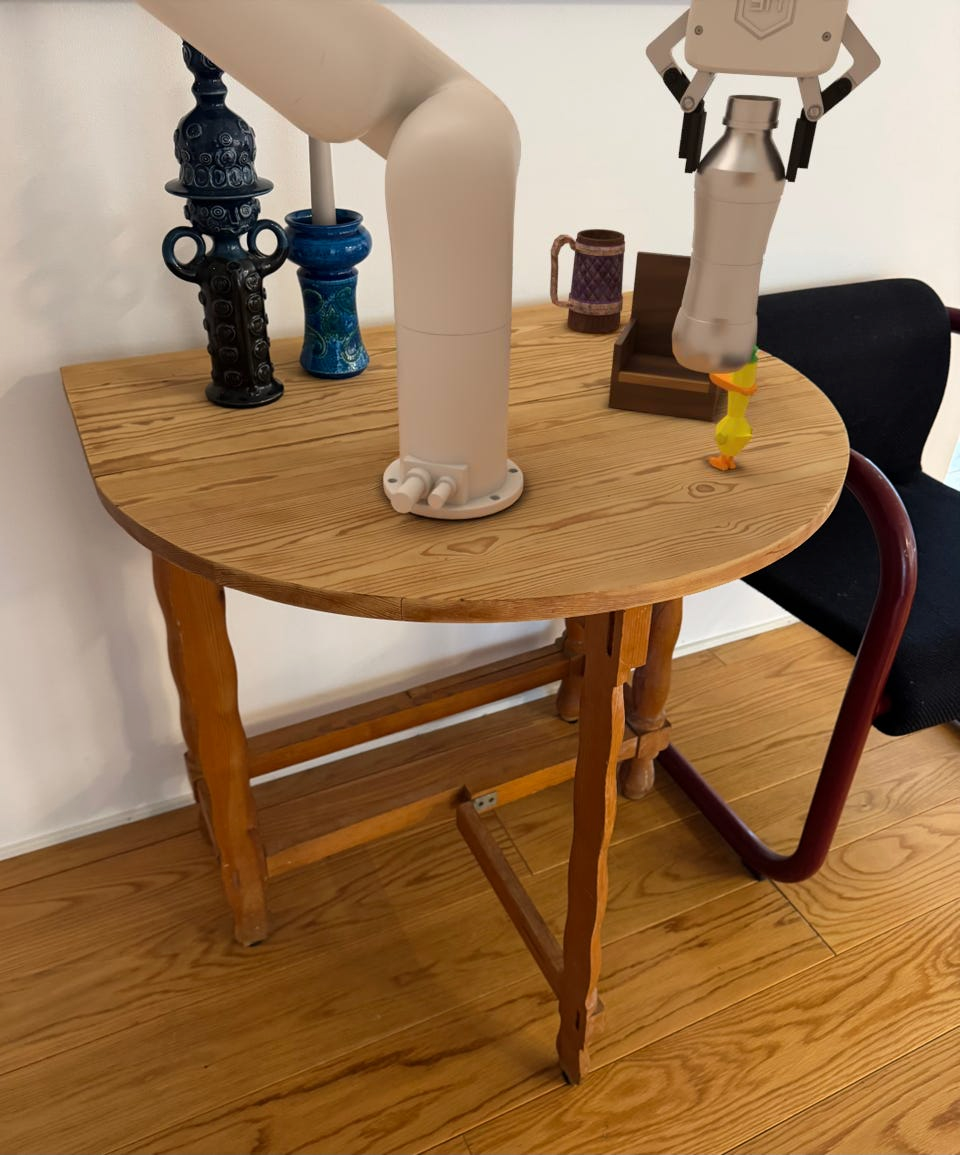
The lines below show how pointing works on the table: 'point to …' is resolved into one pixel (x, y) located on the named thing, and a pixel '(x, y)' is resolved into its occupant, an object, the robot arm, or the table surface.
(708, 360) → the silver water bottle
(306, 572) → the table surface
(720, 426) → the toy figure
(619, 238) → the mug
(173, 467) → the table surface
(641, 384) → the wooden chair
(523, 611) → the table surface
